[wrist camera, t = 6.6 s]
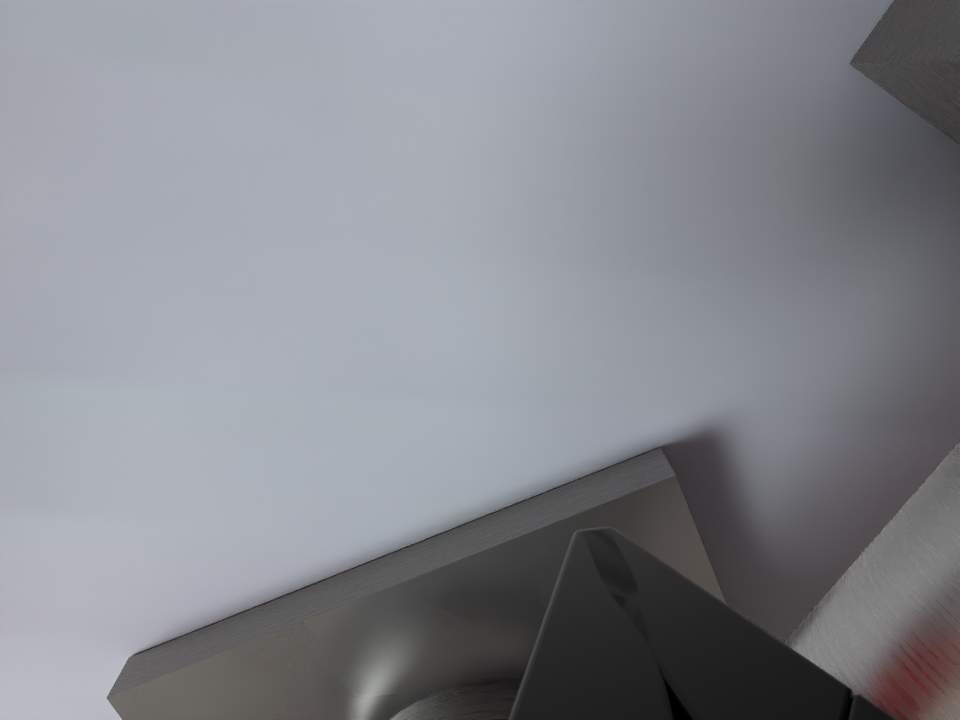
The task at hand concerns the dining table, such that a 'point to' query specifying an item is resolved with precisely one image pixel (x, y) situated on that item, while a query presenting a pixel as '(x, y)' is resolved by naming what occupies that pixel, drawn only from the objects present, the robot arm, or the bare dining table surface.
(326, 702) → the flange plate
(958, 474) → the elbow
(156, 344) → the dining table surface
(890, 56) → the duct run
